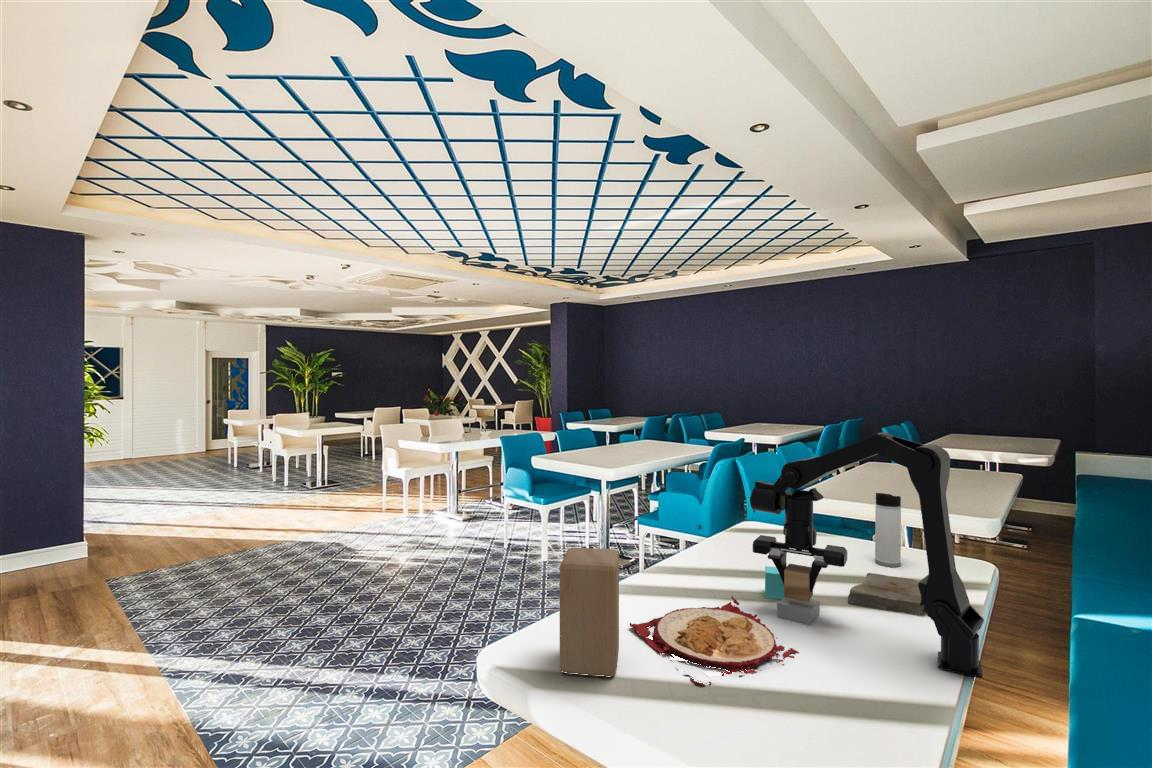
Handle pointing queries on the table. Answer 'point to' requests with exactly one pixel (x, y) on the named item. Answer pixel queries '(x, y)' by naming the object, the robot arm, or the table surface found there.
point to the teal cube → (773, 583)
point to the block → (589, 611)
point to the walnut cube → (797, 582)
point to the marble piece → (887, 594)
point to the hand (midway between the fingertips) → (798, 589)
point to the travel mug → (888, 530)
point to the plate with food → (714, 637)
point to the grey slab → (798, 610)
